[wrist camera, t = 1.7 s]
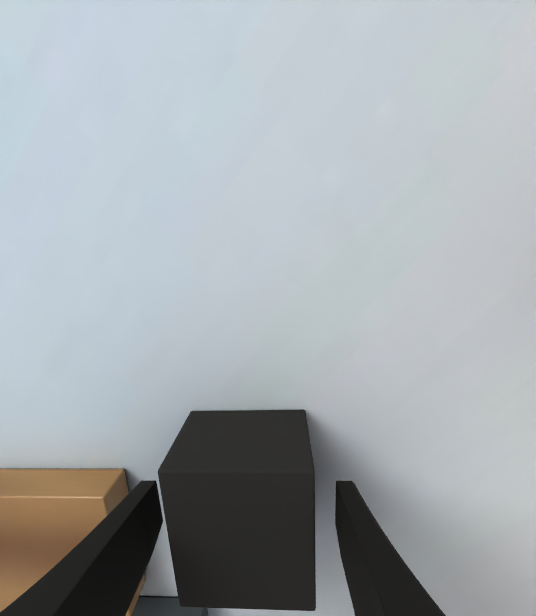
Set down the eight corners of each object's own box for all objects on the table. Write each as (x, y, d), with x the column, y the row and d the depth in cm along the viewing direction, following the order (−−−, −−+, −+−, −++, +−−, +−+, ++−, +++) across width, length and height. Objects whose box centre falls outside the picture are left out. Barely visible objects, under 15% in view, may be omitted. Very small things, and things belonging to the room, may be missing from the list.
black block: (306, 520, 12) (316, 612, 9) (204, 519, 13) (179, 608, 9) (305, 409, 11) (314, 471, 8) (190, 410, 11) (156, 471, 8)
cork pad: (146, 579, 14) (130, 618, 12) (22, 576, 14) (-9, 614, 13) (125, 467, 12) (103, 497, 11) (-15, 468, 13) (-53, 496, 11)
